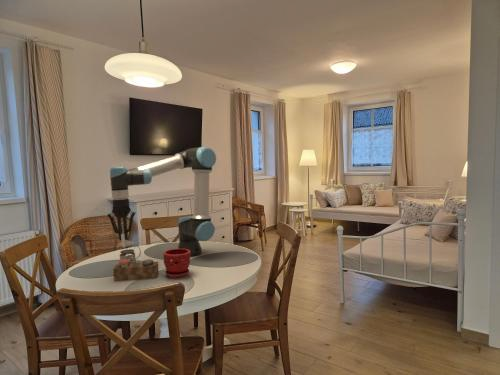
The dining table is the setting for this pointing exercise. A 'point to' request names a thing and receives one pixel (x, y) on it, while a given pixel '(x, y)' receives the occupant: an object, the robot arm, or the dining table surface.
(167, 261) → the plant pot
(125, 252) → the french press
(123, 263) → the red plug
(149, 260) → the charcoal plug
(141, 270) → the socket block
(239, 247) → the dining table surface
